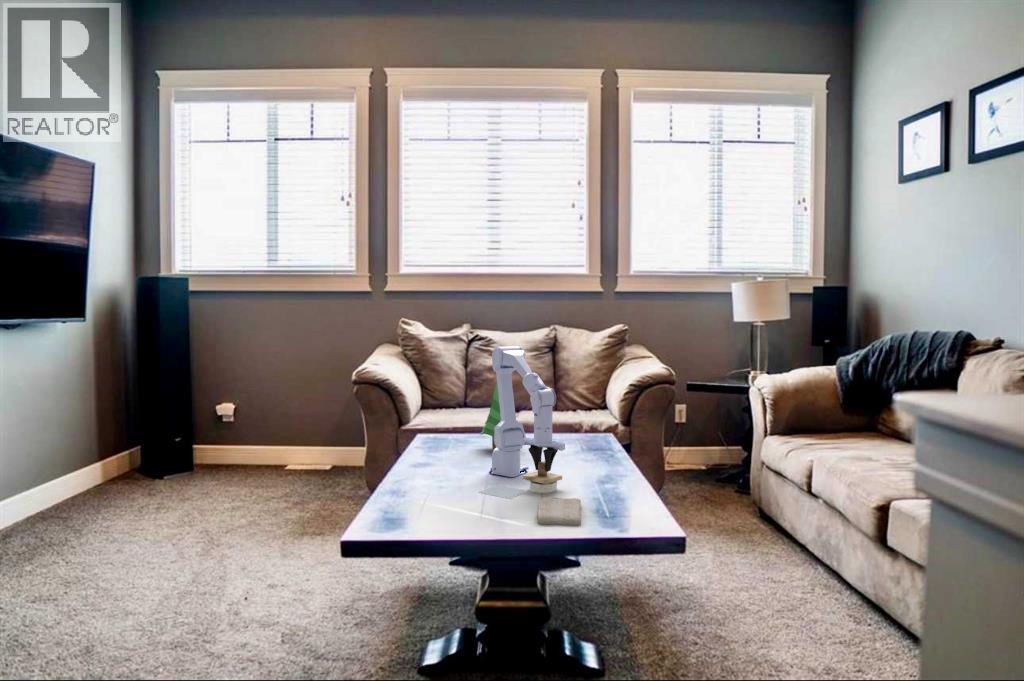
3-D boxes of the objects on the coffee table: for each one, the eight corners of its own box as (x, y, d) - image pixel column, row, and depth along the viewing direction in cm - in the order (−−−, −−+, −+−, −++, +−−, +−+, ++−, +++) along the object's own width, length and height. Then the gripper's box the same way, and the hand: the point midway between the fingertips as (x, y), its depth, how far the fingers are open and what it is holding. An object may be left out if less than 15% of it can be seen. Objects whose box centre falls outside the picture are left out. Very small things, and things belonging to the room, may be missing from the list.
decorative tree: (472, 449, 256) (471, 374, 254) (501, 443, 266) (501, 371, 264) (494, 455, 246) (493, 378, 244) (523, 449, 256) (523, 374, 254)
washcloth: (580, 505, 188) (580, 495, 188) (582, 527, 170) (582, 516, 170) (540, 504, 189) (540, 494, 189) (537, 526, 171) (537, 515, 171)
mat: (478, 494, 197) (478, 492, 197) (496, 486, 206) (496, 484, 206) (510, 501, 191) (510, 499, 191) (528, 492, 199) (528, 490, 199)
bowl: (524, 492, 200) (524, 481, 200) (538, 485, 207) (538, 475, 207) (548, 496, 195) (548, 486, 195) (561, 489, 202) (561, 479, 202)
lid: (522, 479, 200) (522, 462, 199) (538, 474, 207) (539, 458, 207) (545, 484, 194) (546, 466, 194) (562, 479, 201) (562, 462, 201)
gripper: (516, 426, 200) (516, 469, 201) (557, 432, 192) (557, 476, 193) (528, 423, 206) (528, 464, 207) (568, 428, 198) (568, 471, 199)
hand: (543, 470), depth 201 cm, fingers closed on lid, 3 cm apart
